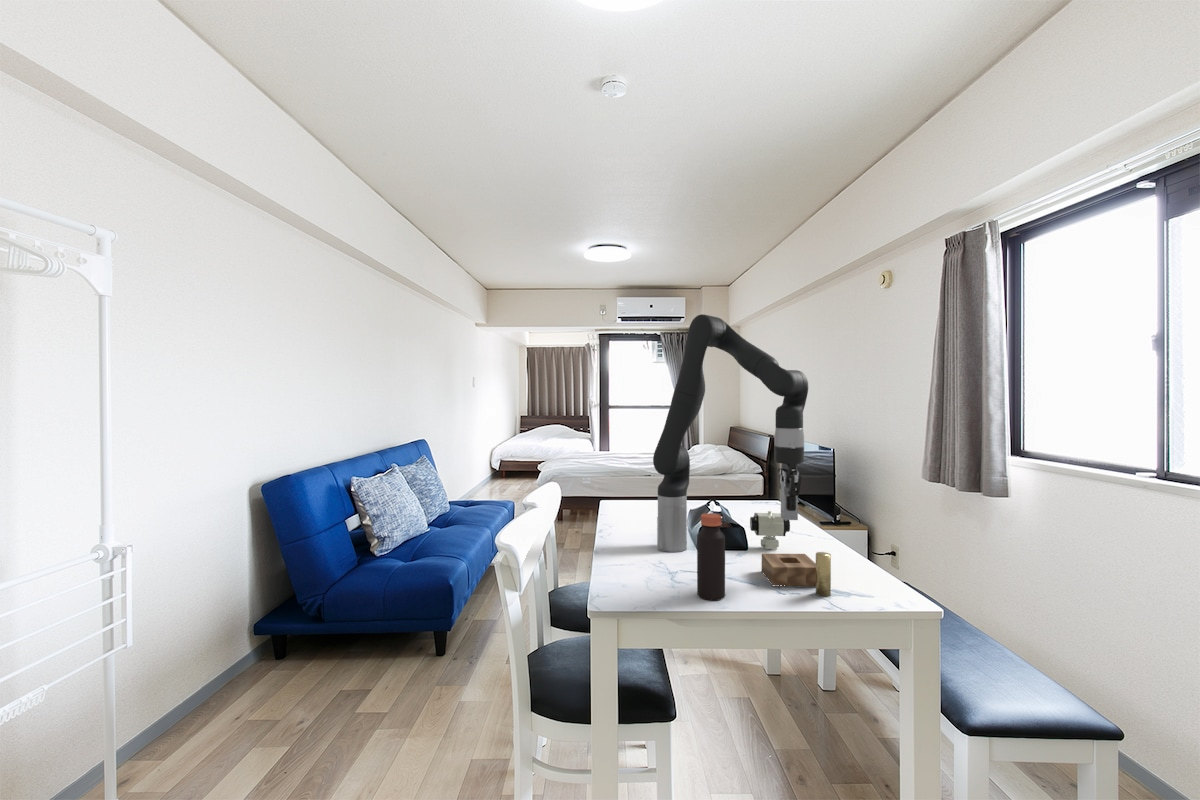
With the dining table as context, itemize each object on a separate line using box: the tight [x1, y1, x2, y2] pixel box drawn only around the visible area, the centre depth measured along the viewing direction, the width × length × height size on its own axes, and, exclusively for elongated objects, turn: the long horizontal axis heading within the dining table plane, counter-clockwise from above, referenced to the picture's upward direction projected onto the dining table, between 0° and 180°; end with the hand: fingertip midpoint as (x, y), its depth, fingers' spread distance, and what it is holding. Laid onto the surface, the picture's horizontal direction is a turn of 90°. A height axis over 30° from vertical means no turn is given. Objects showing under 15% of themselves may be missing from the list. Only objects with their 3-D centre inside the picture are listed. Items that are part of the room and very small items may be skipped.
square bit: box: [780, 480, 799, 521], centre depth 150 cm, size 4×4×10 cm
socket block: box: [761, 553, 816, 587], centre depth 150 cm, size 12×12×5 cm
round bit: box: [815, 551, 832, 598], centre depth 139 cm, size 4×4×10 cm
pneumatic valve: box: [749, 510, 791, 550], centre depth 178 cm, size 6×12×12 cm, turn 83°
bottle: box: [696, 512, 726, 601], centre depth 138 cm, size 7×7×20 cm
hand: (789, 508), depth 150 cm, fingers closed on square bit, 3 cm apart
